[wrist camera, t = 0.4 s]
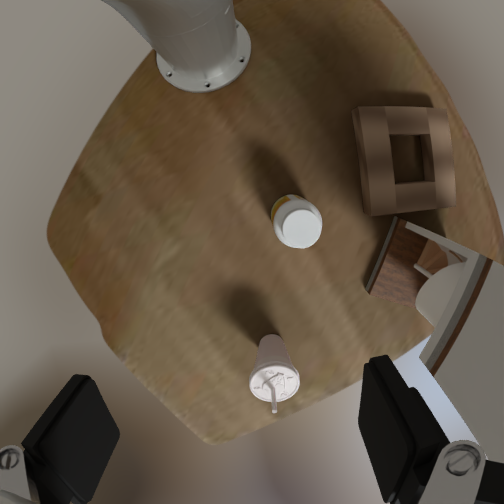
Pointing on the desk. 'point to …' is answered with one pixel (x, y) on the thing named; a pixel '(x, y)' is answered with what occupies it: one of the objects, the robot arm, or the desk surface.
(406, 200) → the socket block
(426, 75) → the desk surface
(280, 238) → the supplement bottle
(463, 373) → the tall seamed white column
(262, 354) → the smoothie
